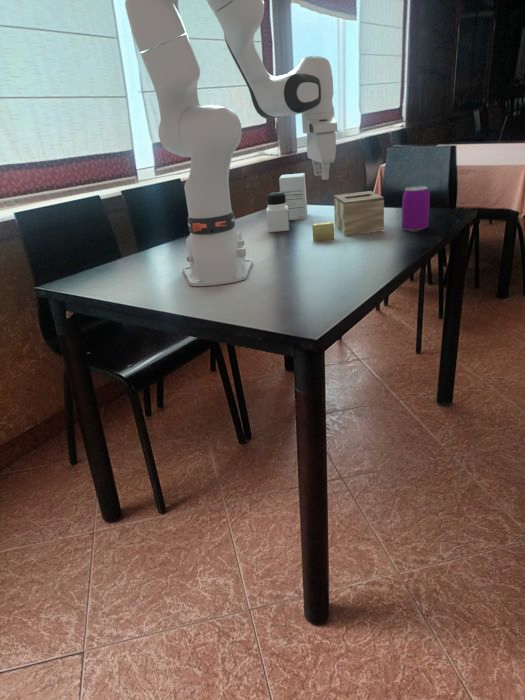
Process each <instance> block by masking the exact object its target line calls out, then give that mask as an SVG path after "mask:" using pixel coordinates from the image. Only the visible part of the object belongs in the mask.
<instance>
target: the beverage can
mask: <svg viewBox="0 0 525 700" xmlns="http://www.w3.org/2000/svg"><path fill="white" fill-rule="evenodd" d="M430 196H431V194H430V191H429V188H428V186H424V185H418V186H417V185H415V186H408V187H405V190H404V192H403V195H402V204H401V205H402V206H401V207H402V209H401V210H402V211H401V214H402V215H401V228H402V229H403V230H404V229H406V230H421V229H425V228H426V229H427V228H428V227H429V224H430V223H429V221H430V220H429V219H430V216H429V215H430V201H431V198H430ZM426 229H425V230H426ZM406 230H405V231H406Z"/></svg>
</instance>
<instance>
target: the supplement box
mask: <svg viewBox="0 0 525 700" xmlns="http://www.w3.org/2000/svg"><path fill="white" fill-rule="evenodd" d="M305 175H306V174H305V172H301V173H299V172H298V173H293V174H292V173H289V174H281V175H280V177H279V178H278V181H279V183H278V184H279V192H282V193H284V194H285V198H286V205H287V206H288V214H289V221H293V220H307V217H308V203H307V202H308V199H307V187H306V186H307V185H306V176H305Z"/></svg>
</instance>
